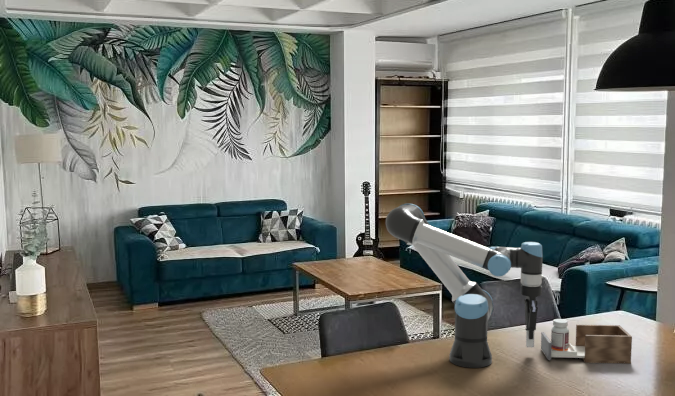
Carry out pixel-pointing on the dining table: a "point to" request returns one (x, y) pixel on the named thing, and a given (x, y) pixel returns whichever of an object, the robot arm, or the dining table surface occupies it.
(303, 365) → the dining table surface
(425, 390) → the dining table surface
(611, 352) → the wooden box
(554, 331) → the pill bottle
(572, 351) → the tray
